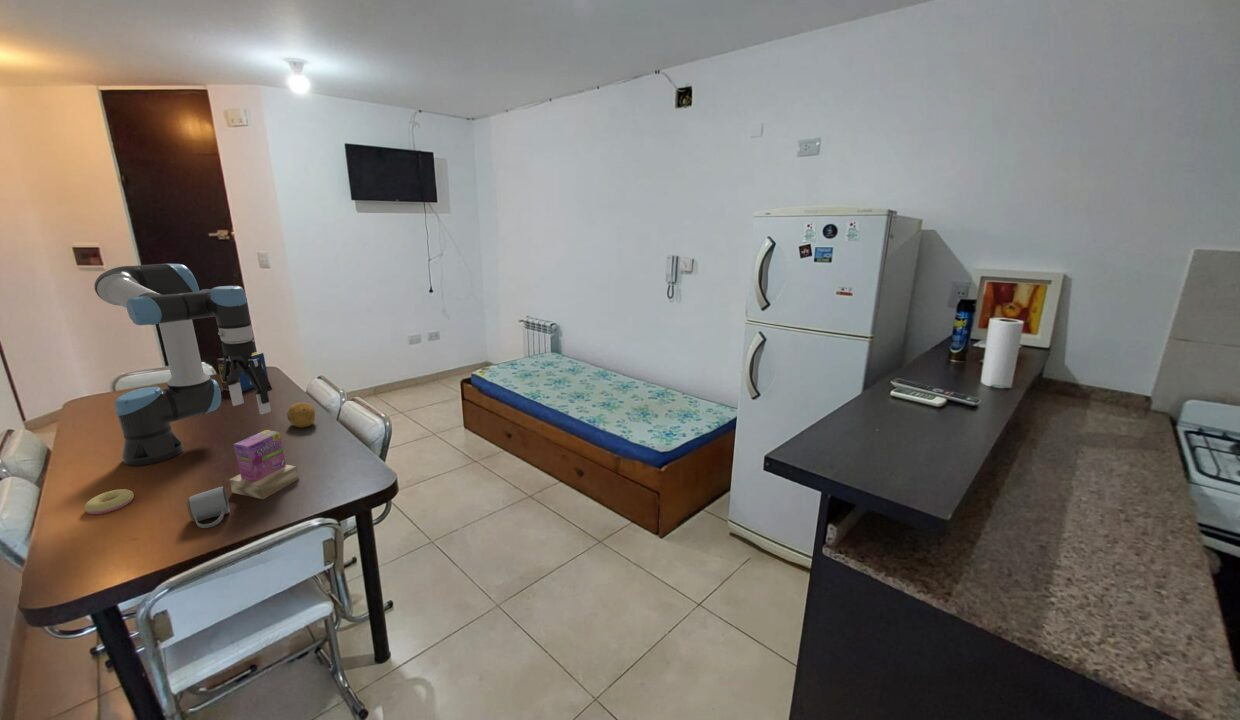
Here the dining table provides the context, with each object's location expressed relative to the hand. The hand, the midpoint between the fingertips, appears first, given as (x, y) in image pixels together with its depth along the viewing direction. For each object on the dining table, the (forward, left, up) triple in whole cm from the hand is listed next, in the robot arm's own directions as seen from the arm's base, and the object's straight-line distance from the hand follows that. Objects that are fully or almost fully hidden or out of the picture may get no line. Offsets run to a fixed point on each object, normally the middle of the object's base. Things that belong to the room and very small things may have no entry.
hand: (251, 408), depth 144 cm
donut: (-26, -27, -25) cm, 45 cm away
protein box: (-100, +50, -25) cm, 114 cm away
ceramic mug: (+6, -18, -25) cm, 32 cm away
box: (+2, -1, -21) cm, 21 cm away
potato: (-32, +33, -25) cm, 52 cm away
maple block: (+2, -1, -26) cm, 26 cm away
